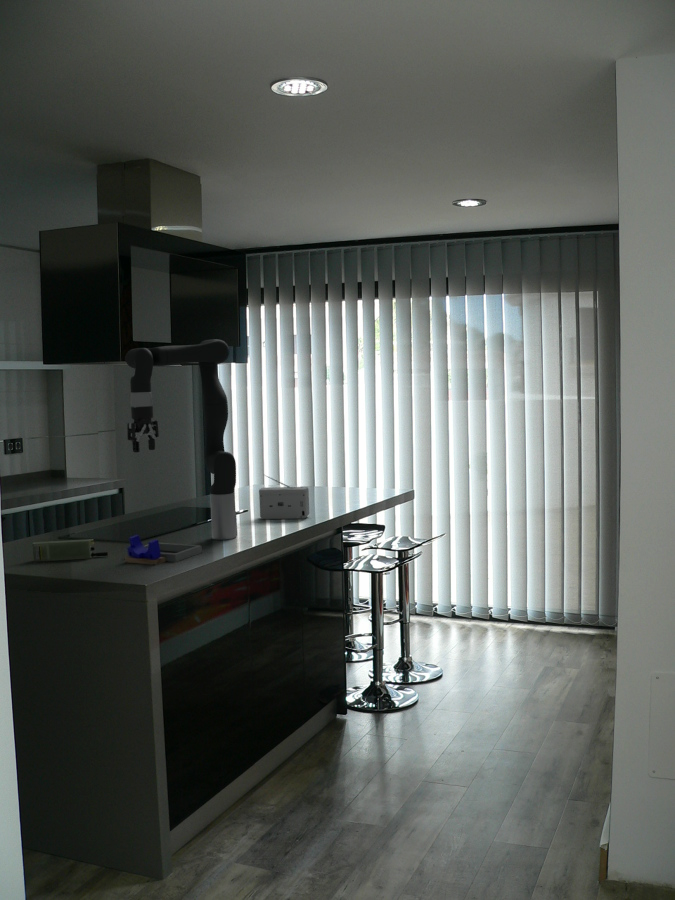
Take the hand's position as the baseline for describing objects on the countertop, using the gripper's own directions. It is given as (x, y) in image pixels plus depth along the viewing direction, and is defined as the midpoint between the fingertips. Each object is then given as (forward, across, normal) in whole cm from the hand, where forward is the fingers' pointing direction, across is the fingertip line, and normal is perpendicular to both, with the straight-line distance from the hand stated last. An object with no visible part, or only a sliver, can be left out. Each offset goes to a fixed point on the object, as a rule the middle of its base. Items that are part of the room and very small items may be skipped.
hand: (144, 451), depth 301 cm
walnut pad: (+36, +14, +9) cm, 40 cm away
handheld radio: (+36, +18, -20) cm, 45 cm away
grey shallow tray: (+36, +4, +9) cm, 37 cm away
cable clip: (+34, +14, +9) cm, 38 cm away
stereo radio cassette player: (+36, -76, +13) cm, 85 cm away
